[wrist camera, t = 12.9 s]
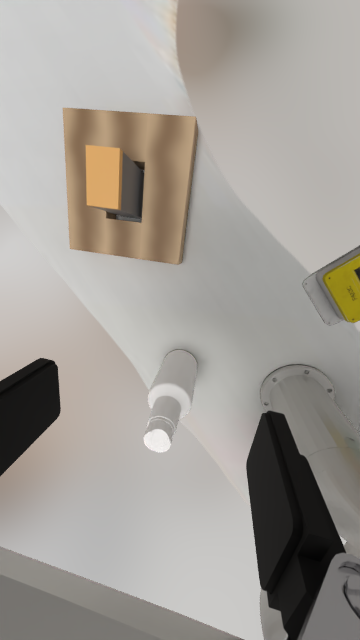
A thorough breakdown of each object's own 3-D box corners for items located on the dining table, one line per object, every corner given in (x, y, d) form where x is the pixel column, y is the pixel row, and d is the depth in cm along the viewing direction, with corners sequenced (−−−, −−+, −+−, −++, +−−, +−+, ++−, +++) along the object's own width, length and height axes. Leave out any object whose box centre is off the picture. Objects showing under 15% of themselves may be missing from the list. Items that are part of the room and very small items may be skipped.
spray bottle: (159, 371, 44) (124, 449, 27) (169, 343, 41) (137, 410, 24) (190, 383, 43) (174, 470, 27) (202, 356, 41) (193, 433, 24)
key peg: (147, 176, 32) (119, 148, 23) (144, 219, 35) (118, 209, 25) (122, 173, 33) (85, 144, 24) (121, 216, 35) (86, 205, 26)
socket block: (198, 131, 30) (196, 116, 26) (181, 262, 36) (178, 264, 33) (78, 122, 32) (62, 107, 28) (82, 248, 38) (69, 248, 34)
